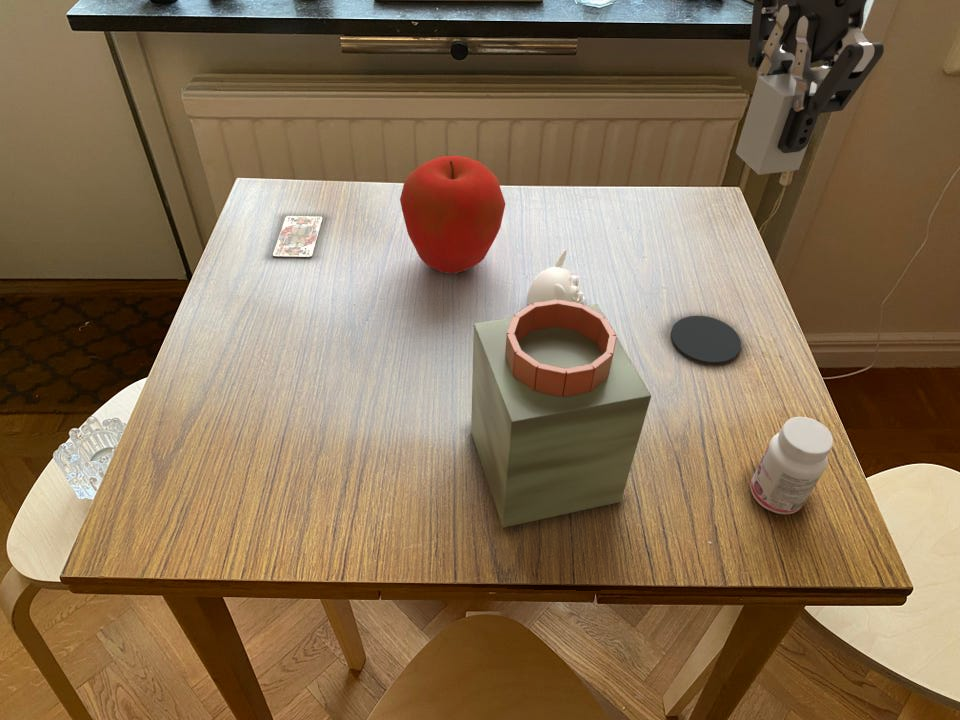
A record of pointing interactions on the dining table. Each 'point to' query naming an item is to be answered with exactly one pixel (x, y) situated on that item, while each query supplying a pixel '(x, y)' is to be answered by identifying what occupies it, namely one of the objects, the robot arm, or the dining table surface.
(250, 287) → the dining table surface
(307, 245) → the playing card
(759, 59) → the robot arm
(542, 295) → the figurine
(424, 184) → the apple
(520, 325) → the segmented terracotta ring
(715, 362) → the coaster
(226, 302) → the dining table surface
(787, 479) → the pill bottle
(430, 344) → the dining table surface
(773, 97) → the block
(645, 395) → the stand
